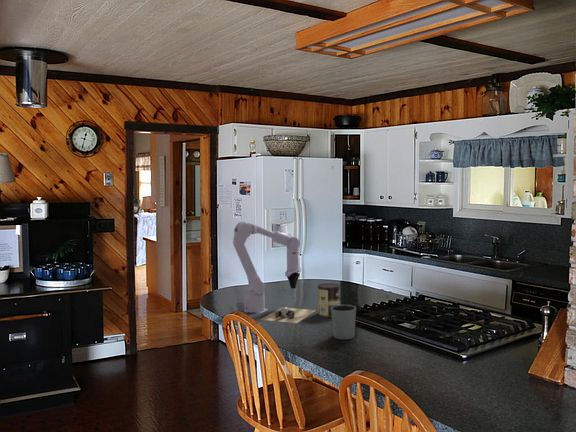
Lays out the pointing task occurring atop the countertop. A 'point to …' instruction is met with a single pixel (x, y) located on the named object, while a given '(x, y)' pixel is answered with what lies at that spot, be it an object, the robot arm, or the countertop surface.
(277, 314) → the c ring
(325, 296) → the coffee can
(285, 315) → the piston post
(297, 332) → the countertop surface
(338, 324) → the grey cup
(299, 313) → the board
